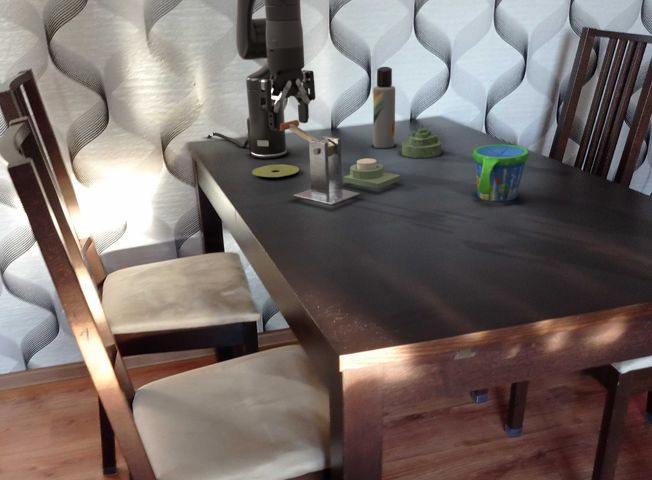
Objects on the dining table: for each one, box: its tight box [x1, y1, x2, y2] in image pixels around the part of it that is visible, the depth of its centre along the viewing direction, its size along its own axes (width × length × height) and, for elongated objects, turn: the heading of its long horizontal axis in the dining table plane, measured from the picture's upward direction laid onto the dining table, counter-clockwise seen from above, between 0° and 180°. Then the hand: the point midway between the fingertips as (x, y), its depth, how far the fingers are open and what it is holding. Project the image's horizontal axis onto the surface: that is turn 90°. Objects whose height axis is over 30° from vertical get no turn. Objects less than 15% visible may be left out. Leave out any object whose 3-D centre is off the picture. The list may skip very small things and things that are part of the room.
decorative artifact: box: [401, 124, 442, 159], centre depth 179 cm, size 10×7×10 cm
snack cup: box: [472, 144, 530, 202], centre depth 142 cm, size 16×10×10 cm
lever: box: [280, 119, 335, 157], centre depth 147 cm, size 13×5×2 cm, turn 45°
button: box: [356, 158, 378, 170], centre depth 157 cm, size 4×4×2 cm
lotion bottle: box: [372, 66, 396, 149], centre depth 185 cm, size 6×6×20 cm
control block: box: [343, 163, 402, 190], centre depth 157 cm, size 10×8×4 cm
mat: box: [251, 163, 300, 178], centre depth 167 cm, size 11×11×2 cm
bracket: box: [293, 135, 361, 207], centre depth 147 cm, size 11×9×13 cm
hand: (289, 126), depth 149 cm, fingers open, 8 cm apart
